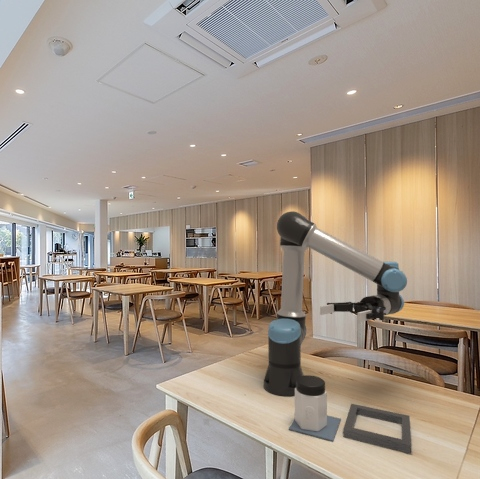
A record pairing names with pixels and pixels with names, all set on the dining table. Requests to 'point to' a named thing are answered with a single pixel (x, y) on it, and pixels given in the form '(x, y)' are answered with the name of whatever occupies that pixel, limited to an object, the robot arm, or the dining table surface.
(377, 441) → the frame
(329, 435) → the mat
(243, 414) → the dining table surface
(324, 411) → the jar
